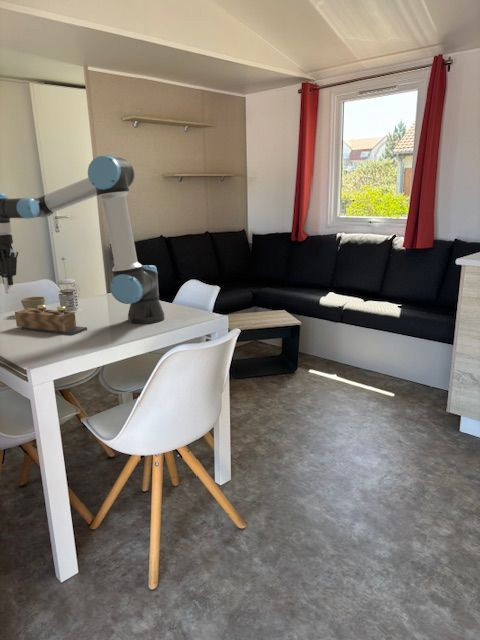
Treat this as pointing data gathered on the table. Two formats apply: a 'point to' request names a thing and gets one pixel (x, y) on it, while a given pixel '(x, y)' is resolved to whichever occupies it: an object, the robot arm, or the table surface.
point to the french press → (68, 295)
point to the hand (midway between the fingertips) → (9, 293)
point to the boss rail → (67, 332)
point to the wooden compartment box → (45, 319)
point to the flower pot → (32, 302)
